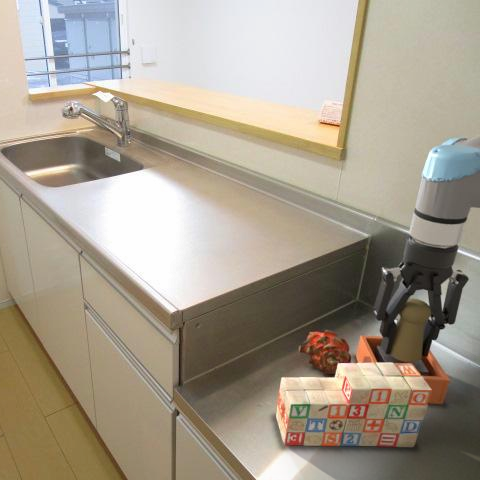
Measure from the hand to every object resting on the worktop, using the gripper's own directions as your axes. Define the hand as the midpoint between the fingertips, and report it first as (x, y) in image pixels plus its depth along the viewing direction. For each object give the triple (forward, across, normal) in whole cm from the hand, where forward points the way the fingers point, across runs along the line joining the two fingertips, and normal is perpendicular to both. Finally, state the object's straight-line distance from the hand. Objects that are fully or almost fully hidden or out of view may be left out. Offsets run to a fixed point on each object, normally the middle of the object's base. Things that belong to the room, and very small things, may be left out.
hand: (403, 350), depth 85 cm
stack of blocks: (+7, +14, +14) cm, 21 cm away
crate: (+7, 0, 0) cm, 7 cm away
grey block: (+6, 0, 0) cm, 6 cm away
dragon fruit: (+7, +13, -3) cm, 15 cm away
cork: (0, 0, 0) cm, 0 cm away
